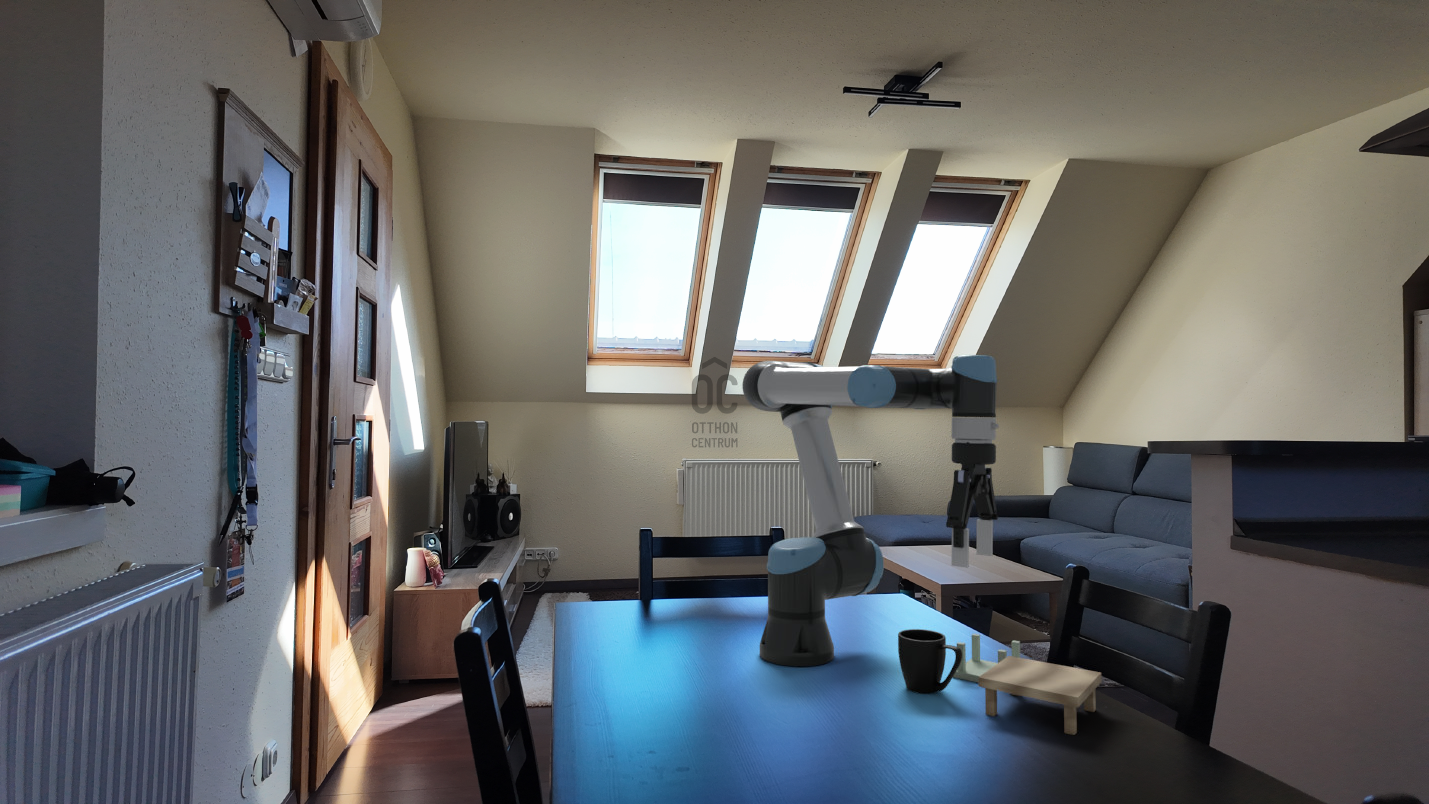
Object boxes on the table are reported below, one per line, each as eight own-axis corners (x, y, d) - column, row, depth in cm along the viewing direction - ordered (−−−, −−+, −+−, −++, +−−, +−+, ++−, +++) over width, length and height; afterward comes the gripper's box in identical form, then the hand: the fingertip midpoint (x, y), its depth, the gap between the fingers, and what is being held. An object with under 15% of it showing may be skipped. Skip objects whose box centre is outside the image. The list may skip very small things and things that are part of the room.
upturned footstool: (952, 677, 142) (952, 643, 142) (972, 664, 150) (971, 632, 150) (1007, 688, 136) (1006, 653, 136) (1024, 674, 143) (1024, 641, 144)
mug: (944, 706, 127) (944, 649, 127) (888, 687, 136) (888, 633, 137) (974, 696, 132) (973, 640, 132) (918, 678, 141) (917, 626, 142)
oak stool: (978, 714, 123) (978, 677, 123) (1009, 689, 135) (1008, 655, 135) (1078, 738, 114) (1077, 697, 114) (1102, 709, 125) (1101, 672, 126)
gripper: (972, 444, 124) (971, 574, 123) (1014, 440, 144) (1013, 553, 143) (927, 442, 128) (926, 568, 128) (974, 439, 148) (973, 548, 148)
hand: (972, 560), depth 136 cm, fingers open, 13 cm apart
